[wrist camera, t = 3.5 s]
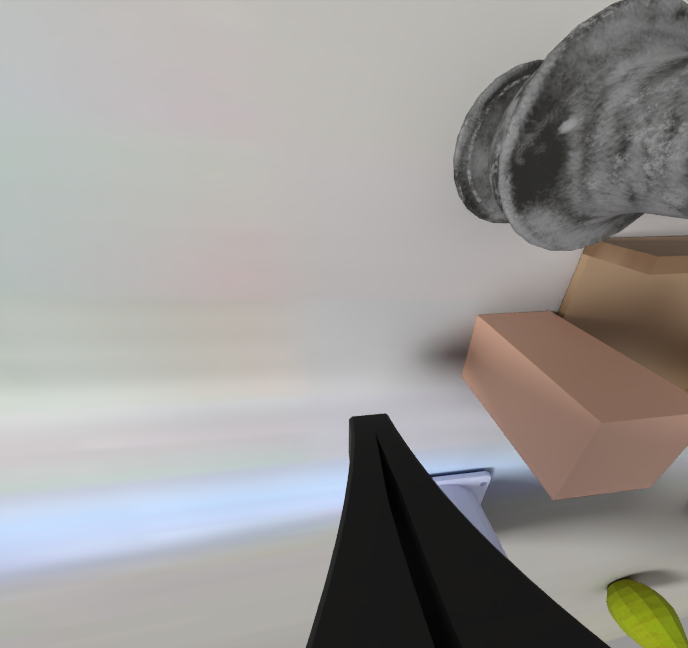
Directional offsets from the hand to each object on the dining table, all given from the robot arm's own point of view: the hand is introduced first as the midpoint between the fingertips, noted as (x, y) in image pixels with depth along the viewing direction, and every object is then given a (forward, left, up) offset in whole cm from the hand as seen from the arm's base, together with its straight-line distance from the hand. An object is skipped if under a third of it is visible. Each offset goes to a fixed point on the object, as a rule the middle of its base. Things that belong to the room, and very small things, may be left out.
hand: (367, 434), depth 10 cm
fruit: (-40, -36, -5) cm, 54 cm away
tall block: (0, -8, -5) cm, 10 cm away
